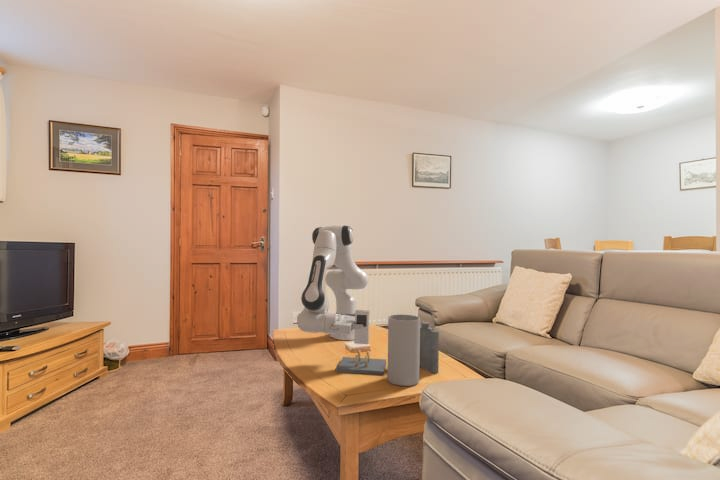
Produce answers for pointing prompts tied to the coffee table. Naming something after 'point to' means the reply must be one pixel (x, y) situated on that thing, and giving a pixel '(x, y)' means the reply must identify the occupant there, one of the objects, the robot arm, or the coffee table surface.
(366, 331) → the drive
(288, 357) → the coffee table surface
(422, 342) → the hip flask
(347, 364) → the pin tray
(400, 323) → the cylinder vase
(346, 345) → the coffee table surface
